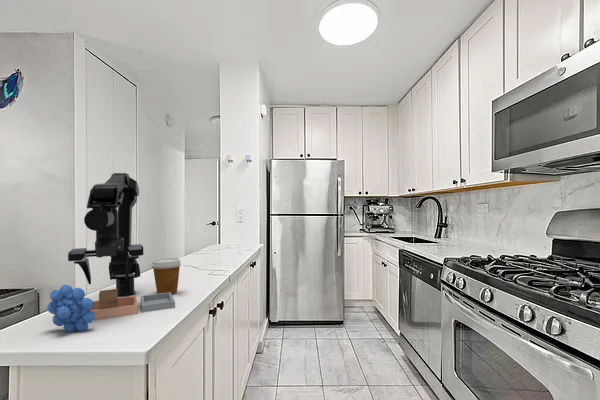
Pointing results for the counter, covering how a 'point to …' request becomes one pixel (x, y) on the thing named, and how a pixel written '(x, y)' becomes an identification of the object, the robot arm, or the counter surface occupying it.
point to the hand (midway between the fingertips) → (108, 282)
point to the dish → (116, 308)
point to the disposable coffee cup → (166, 275)
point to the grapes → (71, 308)
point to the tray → (157, 302)
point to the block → (108, 299)
